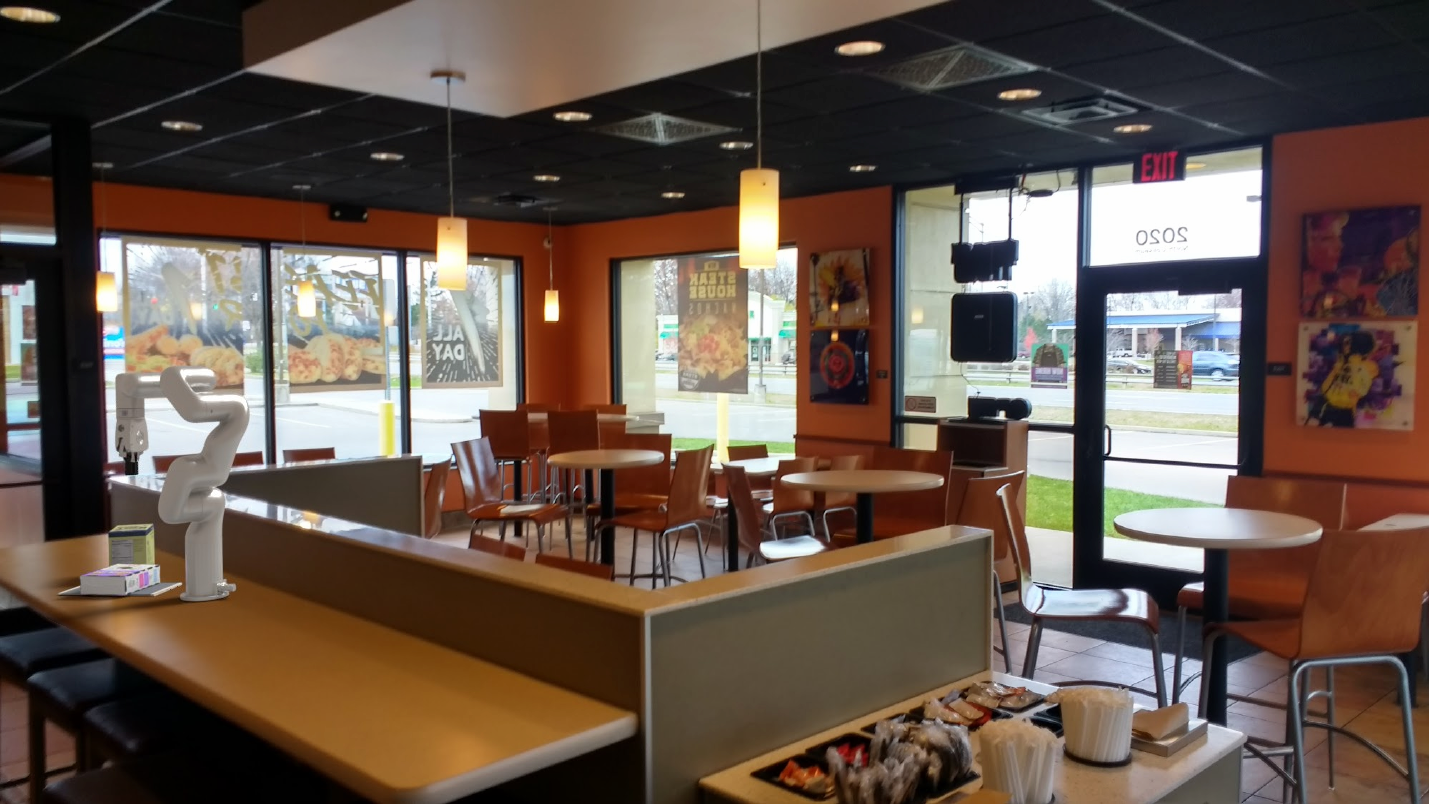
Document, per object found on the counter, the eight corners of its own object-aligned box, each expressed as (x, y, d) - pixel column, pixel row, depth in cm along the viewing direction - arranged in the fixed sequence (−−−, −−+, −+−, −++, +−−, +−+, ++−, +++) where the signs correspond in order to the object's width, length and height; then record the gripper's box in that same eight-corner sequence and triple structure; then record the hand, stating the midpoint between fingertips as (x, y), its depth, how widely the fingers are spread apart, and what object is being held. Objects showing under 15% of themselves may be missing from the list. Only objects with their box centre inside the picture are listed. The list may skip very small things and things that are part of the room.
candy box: (125, 596, 295) (161, 583, 312) (124, 575, 295) (160, 563, 311) (80, 595, 296) (118, 582, 313) (79, 574, 296) (117, 563, 312)
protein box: (155, 570, 333) (154, 522, 333) (147, 580, 319) (146, 530, 318) (118, 573, 330) (117, 524, 329) (108, 583, 315) (107, 532, 315)
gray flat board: (182, 584, 312) (182, 582, 312) (153, 596, 297) (153, 594, 297) (90, 584, 313) (90, 582, 313) (57, 595, 298) (57, 593, 298)
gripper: (128, 415, 304) (129, 478, 304) (156, 413, 318) (158, 472, 319) (102, 415, 304) (104, 477, 304) (132, 413, 319) (134, 472, 319)
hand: (131, 475), depth 312 cm, fingers closed
